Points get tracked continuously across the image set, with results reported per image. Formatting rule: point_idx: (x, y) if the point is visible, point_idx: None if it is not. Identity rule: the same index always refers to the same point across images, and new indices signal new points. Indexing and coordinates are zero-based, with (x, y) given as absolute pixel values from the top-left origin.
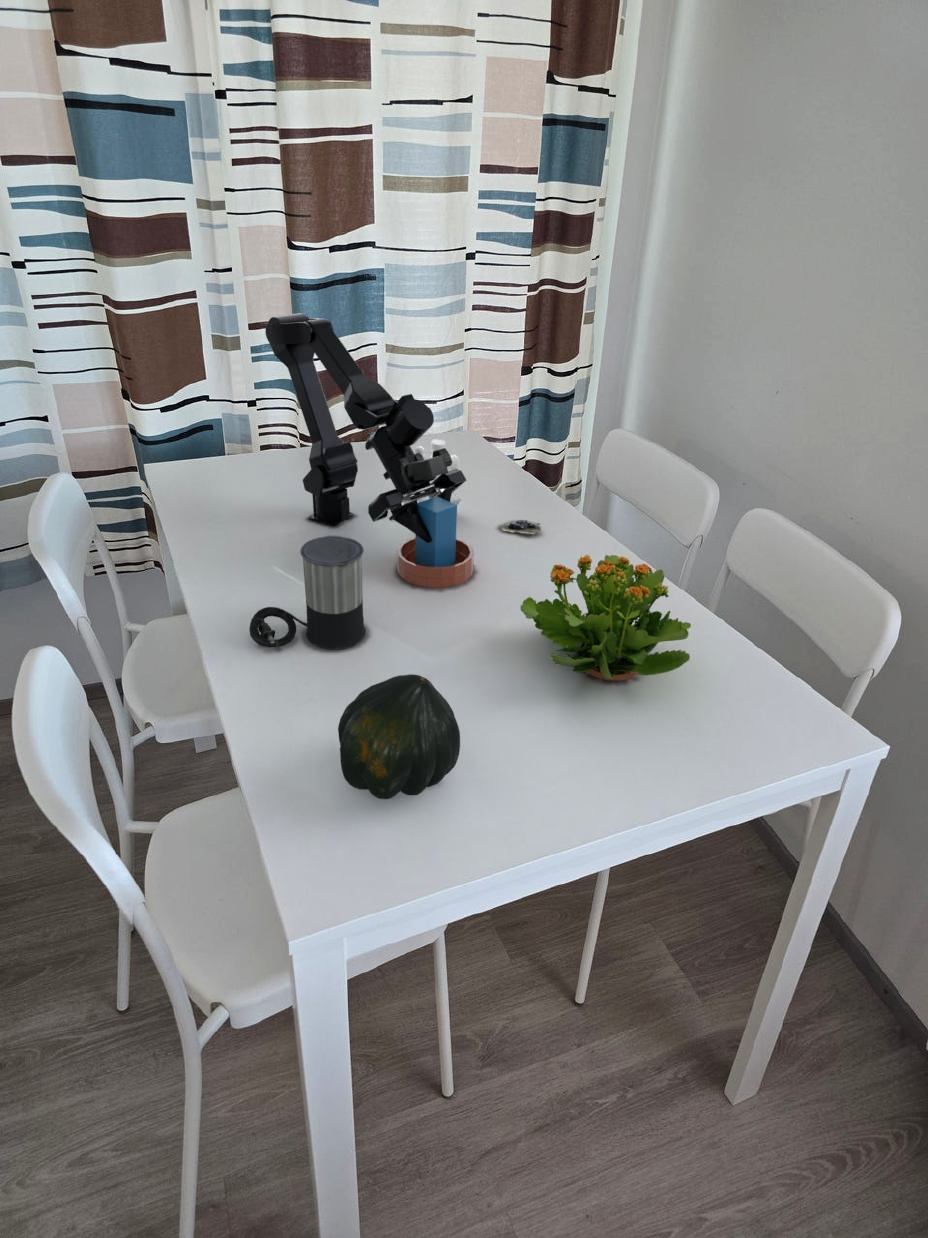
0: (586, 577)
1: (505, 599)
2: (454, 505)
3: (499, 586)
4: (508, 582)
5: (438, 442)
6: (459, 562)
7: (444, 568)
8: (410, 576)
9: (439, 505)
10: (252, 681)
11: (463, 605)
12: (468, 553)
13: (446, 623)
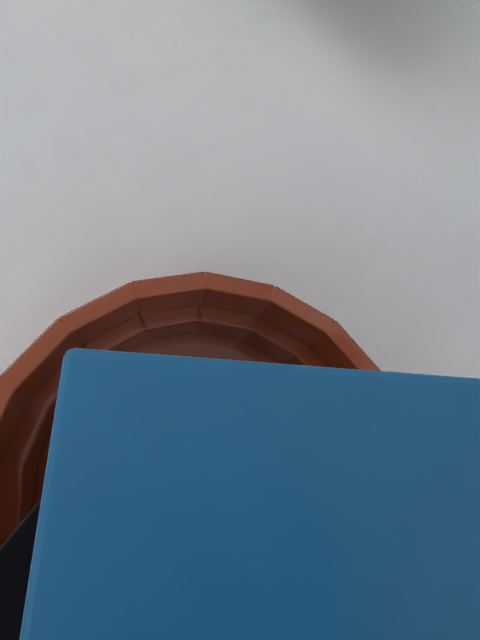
0: None
1: (178, 125)
2: (124, 371)
3: (109, 189)
4: (53, 180)
5: None
6: (48, 449)
7: (321, 312)
8: None
9: (349, 599)
10: None
11: (316, 211)
12: (40, 378)
13: (428, 189)
